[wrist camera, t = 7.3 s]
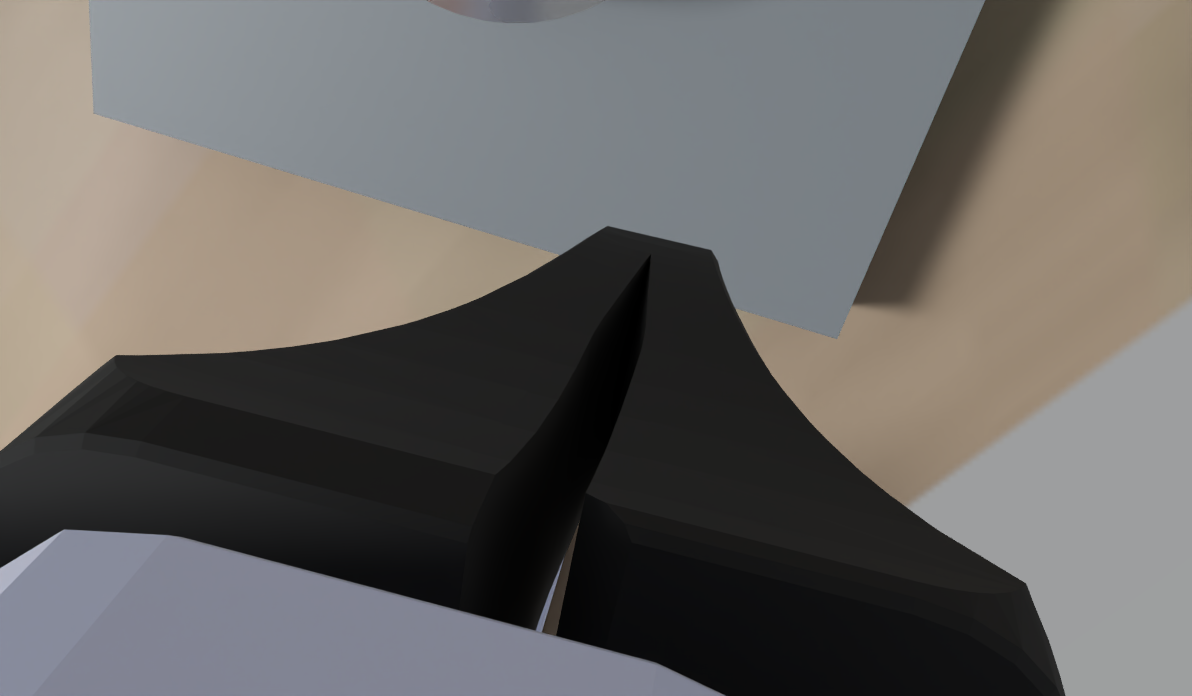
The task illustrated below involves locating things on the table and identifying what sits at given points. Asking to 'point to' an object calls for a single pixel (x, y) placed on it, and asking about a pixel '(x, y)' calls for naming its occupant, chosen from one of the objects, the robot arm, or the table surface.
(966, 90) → the table surface
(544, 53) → the dial board
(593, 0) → the dial
